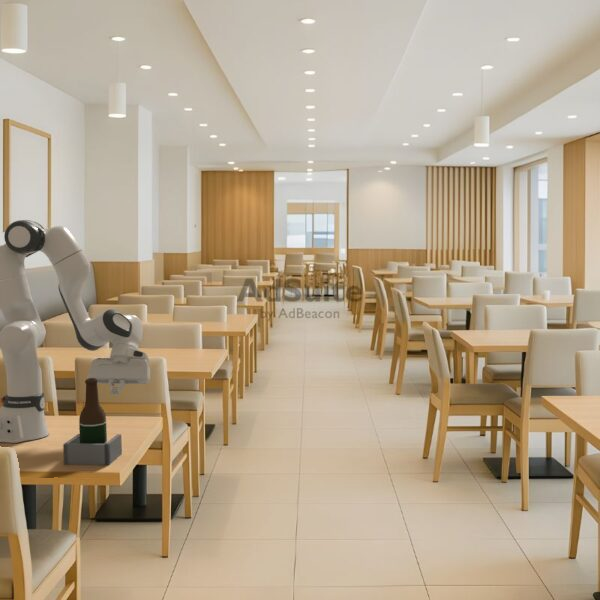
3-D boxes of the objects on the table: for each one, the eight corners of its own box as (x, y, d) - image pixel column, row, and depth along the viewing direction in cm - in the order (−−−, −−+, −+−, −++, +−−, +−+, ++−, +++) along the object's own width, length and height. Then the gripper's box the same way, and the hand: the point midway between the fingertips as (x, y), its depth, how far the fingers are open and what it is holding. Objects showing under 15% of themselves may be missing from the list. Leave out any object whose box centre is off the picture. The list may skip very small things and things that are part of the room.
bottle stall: (63, 464, 232) (63, 444, 231) (79, 453, 244) (78, 433, 243) (108, 465, 230) (108, 444, 230) (121, 453, 243) (121, 434, 242)
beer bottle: (81, 463, 233) (78, 381, 231) (79, 456, 240) (77, 377, 238) (108, 460, 235) (105, 380, 234) (106, 453, 243) (103, 375, 241)
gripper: (90, 352, 265) (80, 387, 256) (150, 353, 263) (142, 388, 254) (95, 363, 269) (86, 398, 261) (154, 364, 267) (147, 398, 259)
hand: (114, 393), depth 257 cm, fingers closed
